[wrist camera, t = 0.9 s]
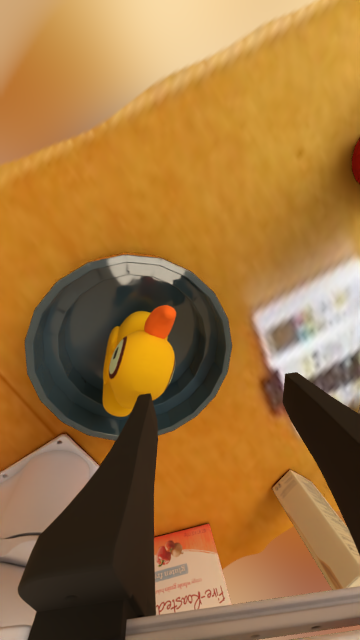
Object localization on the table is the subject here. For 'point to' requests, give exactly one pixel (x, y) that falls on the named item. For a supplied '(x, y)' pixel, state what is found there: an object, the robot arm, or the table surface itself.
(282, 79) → the table surface
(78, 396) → the bowl
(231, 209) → the table surface
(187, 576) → the cracker box
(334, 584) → the cosmetic box
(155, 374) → the duckling
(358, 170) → the plastic cup
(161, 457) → the table surface
